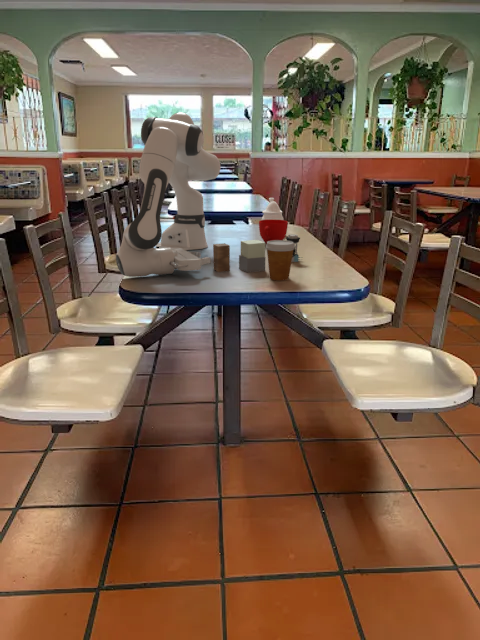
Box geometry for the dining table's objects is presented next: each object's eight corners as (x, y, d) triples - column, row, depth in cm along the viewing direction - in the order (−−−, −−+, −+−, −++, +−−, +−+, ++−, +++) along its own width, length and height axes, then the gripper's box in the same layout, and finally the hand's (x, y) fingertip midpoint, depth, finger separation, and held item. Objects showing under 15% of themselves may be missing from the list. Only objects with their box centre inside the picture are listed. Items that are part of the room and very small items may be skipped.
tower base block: (247, 272, 172) (247, 258, 171) (239, 268, 178) (239, 254, 177) (265, 271, 175) (265, 257, 174) (256, 267, 181) (256, 253, 180)
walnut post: (218, 272, 173) (217, 246, 170) (213, 269, 177) (213, 244, 174) (229, 270, 175) (229, 245, 172) (224, 268, 178) (224, 243, 175)
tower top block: (247, 258, 171) (248, 244, 169) (240, 255, 177) (240, 241, 175) (264, 257, 174) (265, 242, 172) (257, 253, 179) (257, 239, 178)
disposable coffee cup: (263, 275, 169) (263, 240, 165) (290, 274, 169) (292, 239, 166) (266, 282, 160) (267, 245, 156) (296, 281, 160) (297, 244, 157)
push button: (301, 259, 193) (302, 234, 189) (303, 262, 188) (304, 236, 184) (284, 259, 193) (285, 234, 189) (285, 262, 188) (286, 236, 184)
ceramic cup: (251, 246, 219) (251, 223, 216) (264, 240, 234) (264, 218, 231) (279, 248, 214) (280, 225, 211) (290, 242, 229) (291, 220, 226)
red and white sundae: (255, 234, 251) (255, 197, 245) (277, 232, 256) (278, 196, 250) (266, 238, 240) (267, 200, 234) (289, 236, 245) (291, 199, 239)
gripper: (174, 257, 156) (215, 254, 162) (157, 246, 174) (195, 243, 179) (175, 276, 159) (215, 272, 164) (158, 263, 176) (195, 260, 181)
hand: (204, 257), depth 172 cm, fingers open, 8 cm apart
